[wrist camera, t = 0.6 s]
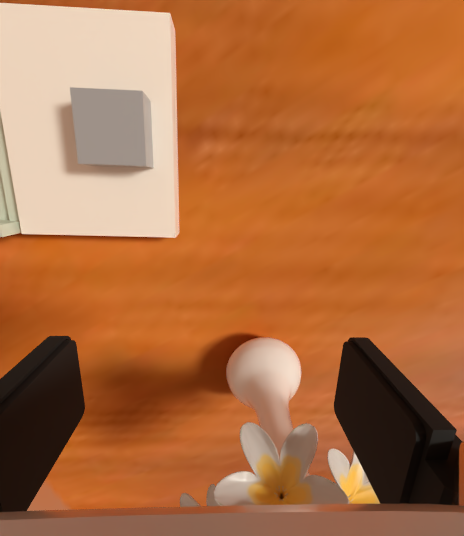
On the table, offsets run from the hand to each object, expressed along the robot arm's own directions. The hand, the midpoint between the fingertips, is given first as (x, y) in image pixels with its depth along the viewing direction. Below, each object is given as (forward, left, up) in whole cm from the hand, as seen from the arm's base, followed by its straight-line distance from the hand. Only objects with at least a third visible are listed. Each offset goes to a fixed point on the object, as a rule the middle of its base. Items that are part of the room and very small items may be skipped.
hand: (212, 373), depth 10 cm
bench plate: (-11, -13, -25) cm, 30 cm away
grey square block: (-11, -10, -22) cm, 26 cm away
